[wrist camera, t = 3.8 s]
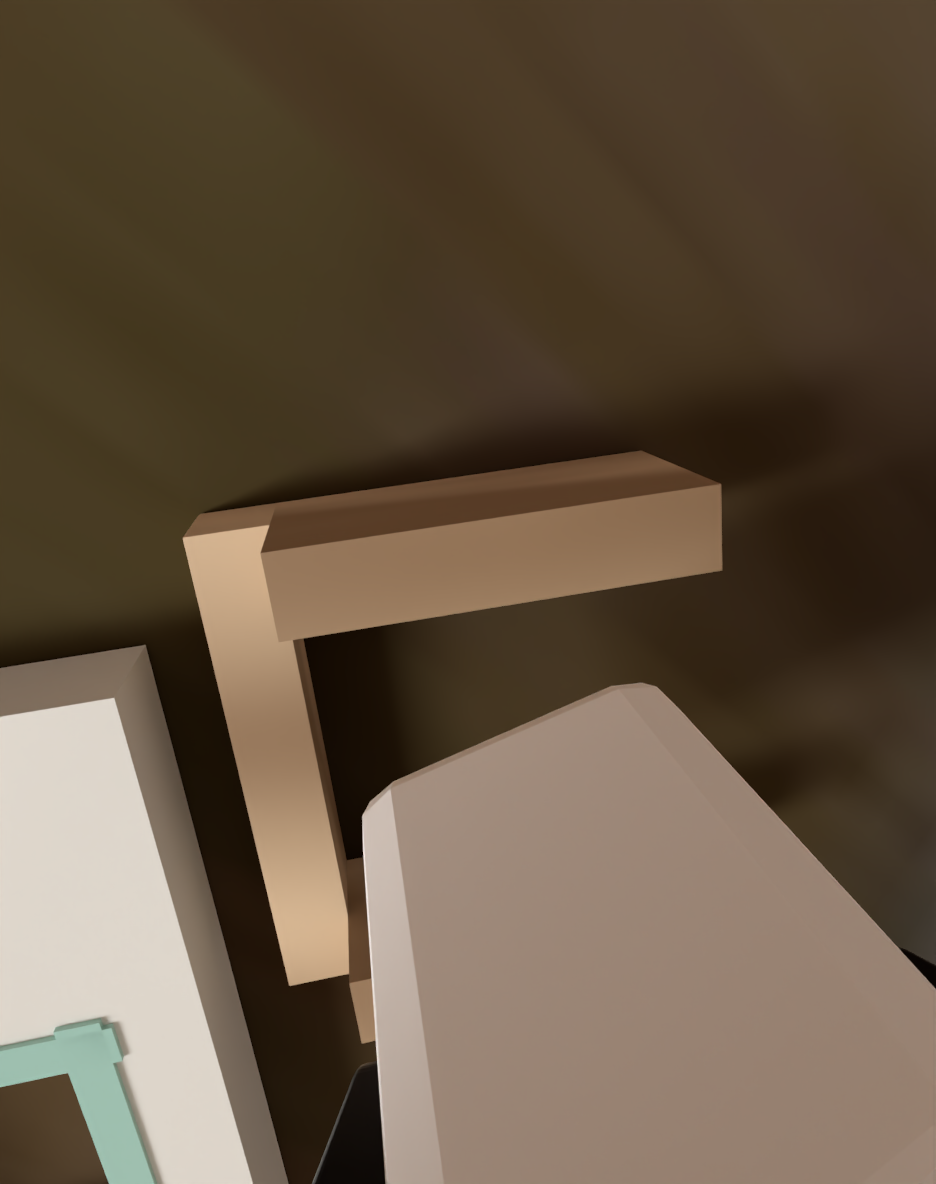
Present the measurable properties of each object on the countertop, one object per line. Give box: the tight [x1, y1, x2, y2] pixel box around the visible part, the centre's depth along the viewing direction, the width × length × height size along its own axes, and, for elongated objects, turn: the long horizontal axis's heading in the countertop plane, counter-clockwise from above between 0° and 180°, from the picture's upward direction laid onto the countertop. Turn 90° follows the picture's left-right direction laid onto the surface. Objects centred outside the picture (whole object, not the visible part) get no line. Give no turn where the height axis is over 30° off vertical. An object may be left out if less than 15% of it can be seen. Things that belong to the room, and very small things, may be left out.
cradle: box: [183, 451, 722, 1043], centre depth 13 cm, size 8×7×3 cm
